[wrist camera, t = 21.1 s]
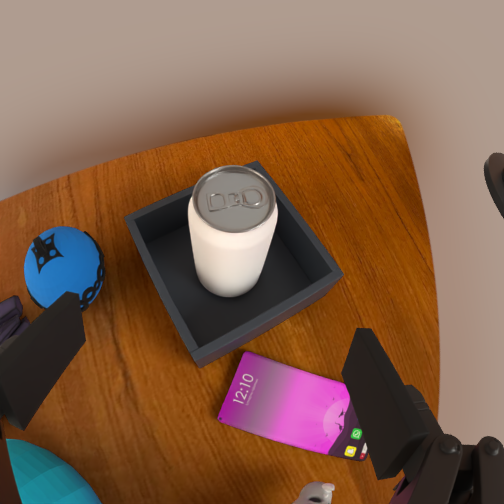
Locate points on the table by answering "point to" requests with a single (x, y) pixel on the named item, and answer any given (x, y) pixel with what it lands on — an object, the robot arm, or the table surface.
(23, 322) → the crystal
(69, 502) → the decorative orb
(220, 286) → the can
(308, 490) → the chubby cartoon animal
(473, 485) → the robot arm
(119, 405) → the table surface
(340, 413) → the smartphone
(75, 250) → the ornament
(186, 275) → the tray
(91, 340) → the table surface
